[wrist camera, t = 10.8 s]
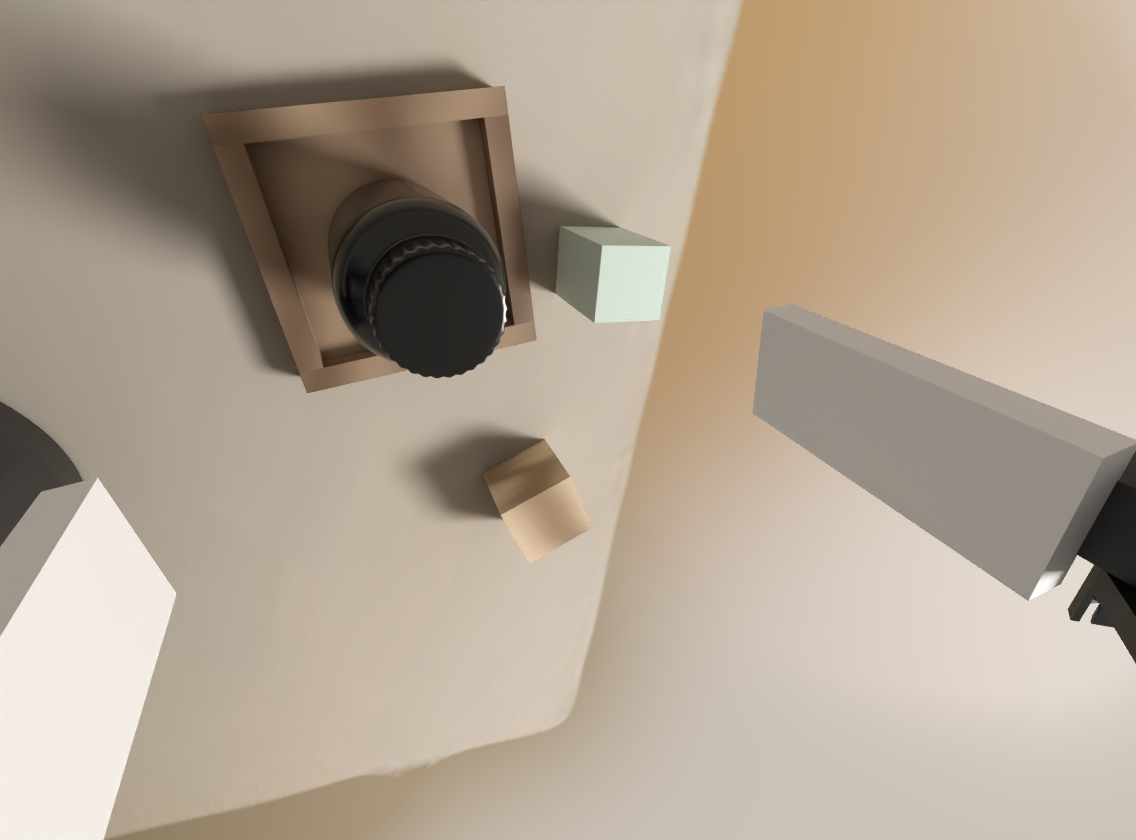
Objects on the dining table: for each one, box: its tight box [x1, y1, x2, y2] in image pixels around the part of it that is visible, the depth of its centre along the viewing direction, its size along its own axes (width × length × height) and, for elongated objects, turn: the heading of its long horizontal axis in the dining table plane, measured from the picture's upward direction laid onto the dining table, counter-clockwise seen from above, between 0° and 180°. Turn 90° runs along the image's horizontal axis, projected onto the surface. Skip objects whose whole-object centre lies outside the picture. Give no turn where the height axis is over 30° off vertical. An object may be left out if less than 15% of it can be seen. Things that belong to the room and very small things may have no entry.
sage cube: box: [555, 226, 671, 323], centre depth 31 cm, size 4×4×6 cm
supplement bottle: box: [328, 179, 508, 378], centre depth 23 cm, size 7×7×12 cm
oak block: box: [482, 439, 593, 563], centre depth 38 cm, size 5×5×5 cm
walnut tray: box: [200, 86, 536, 393], centre depth 28 cm, size 13×13×2 cm
